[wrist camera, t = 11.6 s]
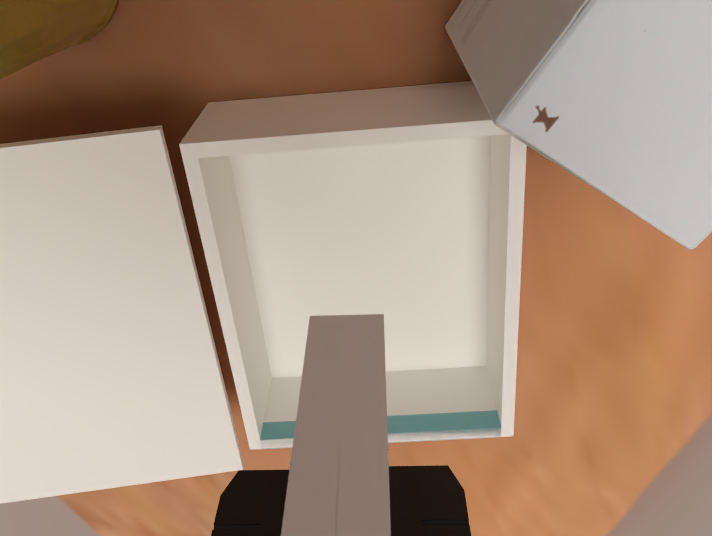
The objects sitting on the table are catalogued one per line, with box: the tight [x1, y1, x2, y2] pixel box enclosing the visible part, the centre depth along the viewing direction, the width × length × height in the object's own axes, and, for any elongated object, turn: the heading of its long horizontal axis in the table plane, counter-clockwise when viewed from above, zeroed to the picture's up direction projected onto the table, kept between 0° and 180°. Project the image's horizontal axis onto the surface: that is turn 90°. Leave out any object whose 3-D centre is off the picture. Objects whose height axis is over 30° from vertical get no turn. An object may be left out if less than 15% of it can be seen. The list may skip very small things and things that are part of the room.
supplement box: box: [445, 0, 712, 250], centre depth 22 cm, size 7×7×13 cm
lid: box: [0, 125, 243, 503], centre depth 28 cm, size 18×13×2 cm
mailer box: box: [179, 81, 527, 449], centre depth 31 cm, size 16×13×5 cm
